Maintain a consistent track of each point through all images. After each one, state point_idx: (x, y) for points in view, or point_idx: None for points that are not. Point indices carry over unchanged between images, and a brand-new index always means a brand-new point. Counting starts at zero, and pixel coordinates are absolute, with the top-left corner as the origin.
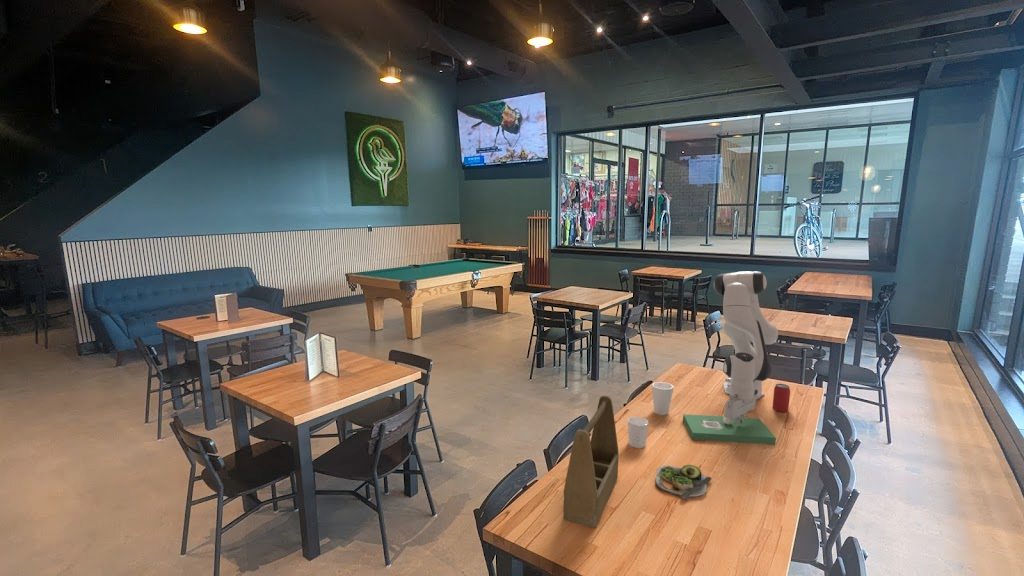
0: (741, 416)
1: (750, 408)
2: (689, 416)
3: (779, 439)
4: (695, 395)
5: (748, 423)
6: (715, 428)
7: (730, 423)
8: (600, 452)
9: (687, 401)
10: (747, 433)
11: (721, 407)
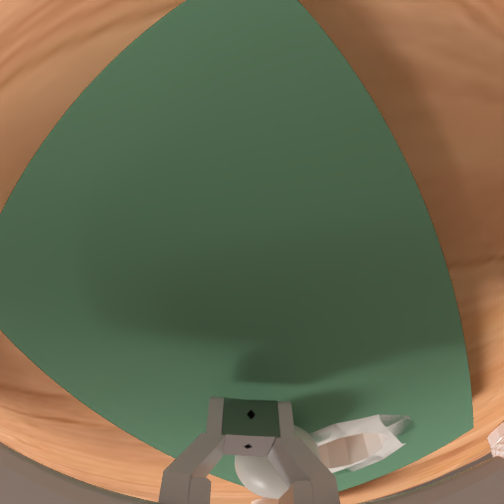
0: (207, 466)
1: (43, 499)
2: None
3: (97, 22)
4: (61, 464)
5: (105, 340)
6: (397, 427)
7: (305, 433)
8: None
9: (119, 481)
10: (385, 276)
11: (39, 421)
